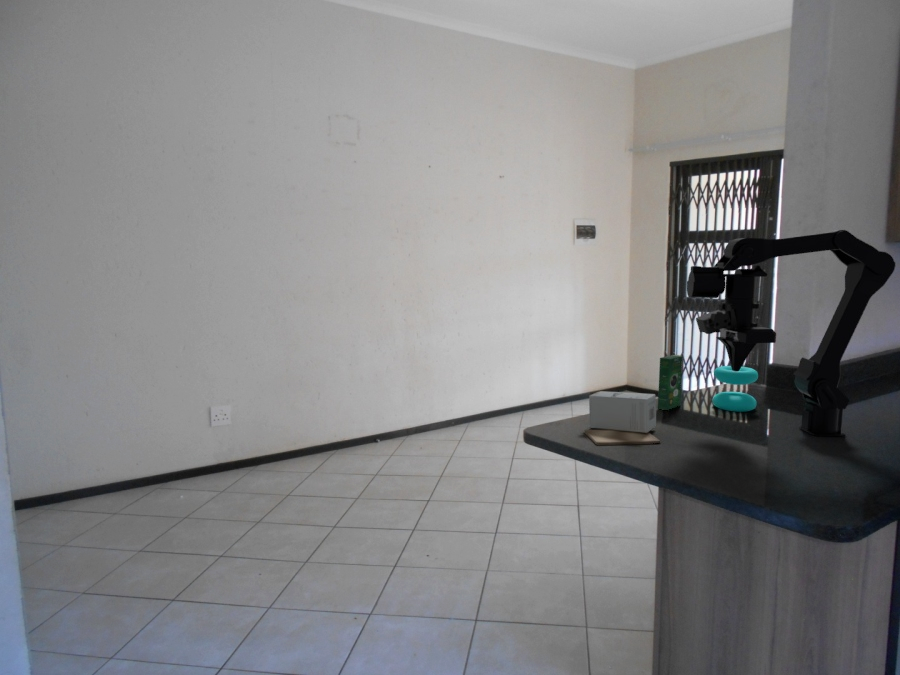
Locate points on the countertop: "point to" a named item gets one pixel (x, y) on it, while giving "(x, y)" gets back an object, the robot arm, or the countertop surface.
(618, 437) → the wooden board
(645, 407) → the supplement box
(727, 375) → the donuts
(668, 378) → the coffee box
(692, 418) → the countertop surface
